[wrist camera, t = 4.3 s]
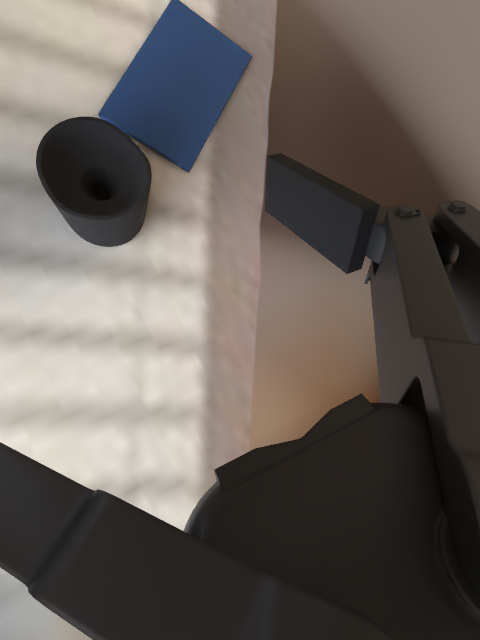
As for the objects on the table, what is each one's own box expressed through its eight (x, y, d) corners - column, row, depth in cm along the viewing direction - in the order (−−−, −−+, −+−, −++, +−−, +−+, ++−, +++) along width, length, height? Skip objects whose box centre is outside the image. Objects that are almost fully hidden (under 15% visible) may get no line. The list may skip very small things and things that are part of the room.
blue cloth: (98, 116, 39) (98, 113, 38) (173, 0, 42) (173, -4, 42) (188, 172, 41) (189, 170, 41) (250, 59, 45) (252, 55, 45)
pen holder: (144, 175, 40) (146, 122, 30) (151, 250, 39) (155, 220, 30) (58, 170, 37) (31, 110, 27) (65, 251, 36) (40, 219, 27)
